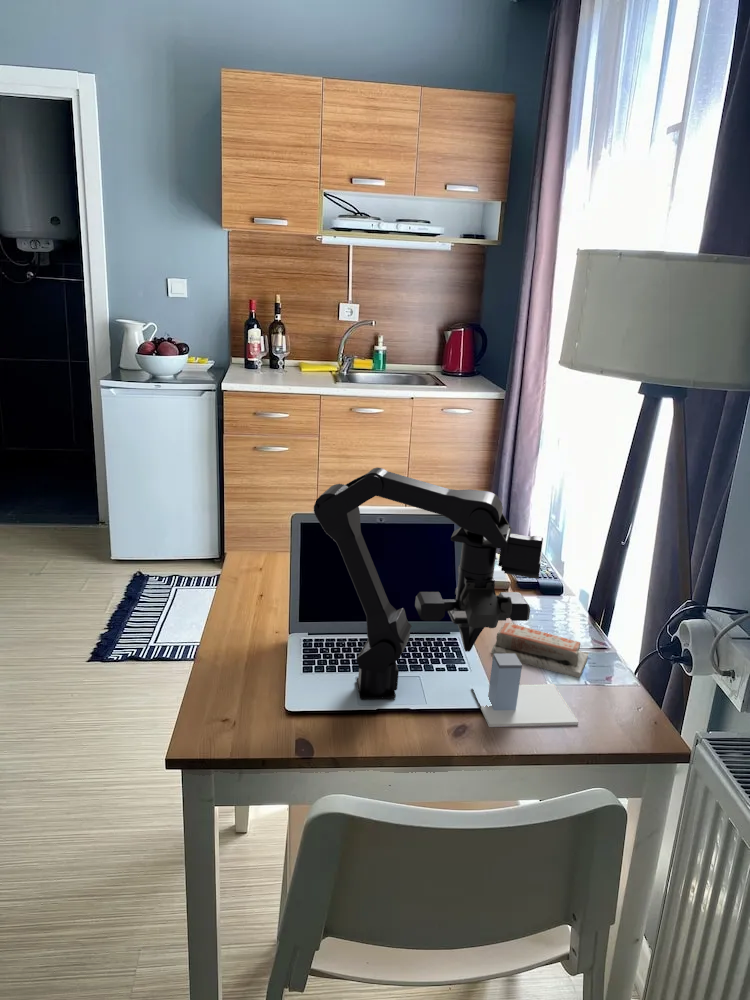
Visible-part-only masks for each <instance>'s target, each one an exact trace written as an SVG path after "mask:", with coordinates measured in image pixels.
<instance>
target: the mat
mask: <svg viewBox="0 0 750 1000" xmlns="http://www.w3.org/2000/svg"><path fill="white" fill-rule="evenodd" d="M480 711H481V712H482V715H483V717H484V718H485V719H484V720H485V722H486V723H487V726H488V727H489V728H504V727H505V728H507V727H508V728H509V727H513V728H514V727H539V726H540V727H542V726H544V727H545V726H547V727H548V726H549V727H552V726H554V727H555V726H579V720H578V719H577V716H575V714H574V712H573V711H572V710H571V708H570V706H569V705H568V704H567V702H566V700H565V699H564V697H563V696H562V694H561V693H560V690H559V689H558V687H557V686H556V684H554V683H552V684H551V683H550V684H549V683H546V684H545V683H544V684H537V683H536V684H519V691H518V698H517V705H516V710H493V707H492V706H489V707H488V706H487V705H486V706H485V707H484V706H481V708H480Z"/></svg>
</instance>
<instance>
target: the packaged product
mask: <svg viewBox="0 0 750 1000" xmlns="http://www.w3.org/2000/svg"><path fill="white" fill-rule="evenodd" d="M495 639H496V641H495V644H494V645H493V647H492V649H491V654H492V655H493V654H503V653H515V654H516V656H517V657H518V659H519V661H520V662H521V664H522V663H523V664H526V665H530V666H534V667H537V668H540V669H544V670H548V671H552V672H555V673H559V674H562V675H566V676H571V677H574V678H580V676H581V675H582V673H583V670H584V667H585V666H586V664H587V662H588V657H589V654H590V652H588V651H582V650H580V647H581V642H579V641H577V640H574V639H571V638H566V637H562V636H559V635H555V634H552V633H548V632H545V631H541V630H537V629H535V628H534V629H533V628H530V627H527V626H524V625H523V626H522V625H518V624H515V623H513V622H506V623H504V625H502V626H501V627H500V629H499V631H498V632H497V634H496V637H495Z"/></svg>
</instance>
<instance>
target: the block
mask: <svg viewBox="0 0 750 1000" xmlns="http://www.w3.org/2000/svg"><path fill="white" fill-rule="evenodd" d="M492 655H493V656H492V660H491V661H492V662H491V670H490V671H491V672H490V676H489V677H490V678H489V684H488V685H489V692H488V697H489V700H490V702H491V704H492V707H493V710H516V705H517V698H518V691H519V685H521V684H520V681H521V675H522V669H523V668H522V667H523V664H522V662H520V661H519V659H518V657H517V656H516V654H515V653H503V654H492Z"/></svg>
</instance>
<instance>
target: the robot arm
mask: <svg viewBox="0 0 750 1000" xmlns="http://www.w3.org/2000/svg"><path fill="white" fill-rule="evenodd" d="M375 497H379V498H383V499H386V500H390V501H392V502H396V503H400V504H404V505H405V506H406V505H407V506H409V507H413V508H416V509H420V510H422V511H423V510H424V511H427V512H430V513H434V514H437V515H440V516H442V517H445V518H447V519H448V520H449V521H451V522H452V523H453V524H455V525H456V526H458V527H459V528H457V529H455V530H454V531H453V533H452V535H451V537H450V541H452V542H455V543H456V542H457V543H461V544H462V545H461V553H460V562H459V565H458V566H457V573H458V577H457V579H458V580H457V587H456V588H455V591H454V595H456V596H455V598H453V599H451V598H449V599H444V598H442V595H441V593H440V592H439V591H419V592H418V593H417V595H416V596H415V601H414V607H415V609H416V612H417V614H418V616H419V620H422V621H423V622H424V621H425V622H428V621H429V622H431V621H432V622H436V621H437V622H440V621H441V620H442V619H444V618H445V616H446V612H447V614H448V616H449V617H450V620H451V622H452V624H454V625H457V626H458V631H459V634H460V638H461V642H462V646H463V649H464V651H465V652H466V653H467V652H469V653H470V652H471V650H472V649H473V646H474V645H475V644H476V641H477V639H478V638H479V636H480V634H481V633H482V631H483V630H484V629H485V628H489V629H494V628H497V626H498V623H499V621H505V622H506V621H507V619H510V620H511V621H512V622H517V621H518V622H520V621H521V622H522V621H523V622H524V621H525V622H526V621H529V620H530V616H531V615H530V613H531V607H530V605H529V603H528V602H527V600H526V599H525V598H524V596H523V594H521V593H520V592H518V591H517V592H516V591H515V592H512V591H511V592H510V591H509V592H504V591H503V592H502V591H501V592H500V593H499V594H498V595H497V593H496V589H495V587H496V583H495V582H496V581H495V578H494V575H495V574H494V572H495V565H496V557H497V550H498V549H500V550H499V557H498V567H500V571H502V572H504V574H506V575H513V576H518V577H524V578H530V579H531V578H532V579H537V580H539V579H540V578H539V577H540V571H541V566H542V565H541V564H542V559H543V558H542V557H543V551H542V550H543V542H544V537H543V536H537V535H533V536H532V535H531V536H529V535H524V534H517V533H512V531H513V530H512V526H511V524H510V523H509V522H508V519H506V516H505V515H504V513H503V510H504V509H503V503H502V501H501V500H500V497H499V496H498V495H497V494H495V493H493V492H492V491H487V490H478V489H452V488H451V489H450V488H447V487H443V486H439V485H436V484H434V483H430V482H426V481H422V480H420V479H419V480H418V479H415V478H412V477H409V476H405V475H401V474H399V473H395V472H391V471H389V470H386V469H385V468H383V467H374V468H372V469H371V470H369V471H368V472H367V473H365V474H363V475H361V476H359V477H357V478H355V479H353V480H351V481H349V482H348V483H346V484H342V483H334V484H333V485H331V486H330V487H329V488H327V489H326V490H325V491H324V492H323V493H322V494H321V495H319V497H317V499H316V501H315V503H314V505H313V513H314V516H315V518H316V519H317V521H318V523H319V525H320V526H321V528H322V529H323V531H324V532H325V534H326V535H328V536H329V538H331V539H332V540H333V541H334V542H335V544H336V545H337V547H338V550H339V552H340V555H341V556H342V559H343V562H344V564H345V566H346V569H347V572H348V574H349V576H350V579H351V581H352V584H353V586H354V589H355V592H356V594H357V597H358V599H359V601H360V604H361V606H362V609H363V611H364V614H365V617H366V636H367V640H366V642H365V644H364V645H363V647H362V649H361V651H360V652H359V654H358V655H357V657H356V662H357V665H358V677H357V678H356V680H355V681H356V686H357V691H358V696H359V699H360V700H392V699H391V698H395V699H396V697H397V695H396V694H397V693H396V691H397V690H398V685H399V684H398V683H399V671H400V670H399V668H398V665H397V661H398V660H399V659H400V658H401V656H402V654H403V653H404V650H405V648H406V646H407V644H408V641H409V640H410V637H411V632H410V631H411V628H412V627H413V626H412V624H411V623H410V622H409V621H408V619H407V614H406V610H405V608H404V607H402V608H399V609H397V608H395V607H394V606H393V605H392V604H391V603H390V601H389V598H388V596H387V594H386V592H385V589H384V586H383V584H382V581H381V578H380V576H379V574H378V571H377V568H376V566H375V564H374V561H373V559H372V557H371V554H370V551H369V549H368V546H367V544H366V541H365V539H364V536H363V533H362V528H361V512H360V506H361V505H363V504H365V503H366V502H367V501H370V500H371V499H372V498H375Z"/></svg>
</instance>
